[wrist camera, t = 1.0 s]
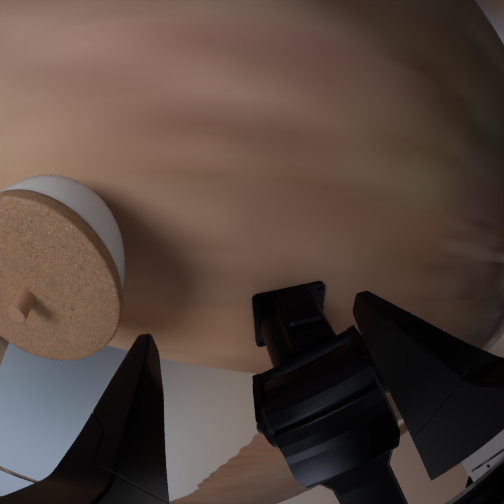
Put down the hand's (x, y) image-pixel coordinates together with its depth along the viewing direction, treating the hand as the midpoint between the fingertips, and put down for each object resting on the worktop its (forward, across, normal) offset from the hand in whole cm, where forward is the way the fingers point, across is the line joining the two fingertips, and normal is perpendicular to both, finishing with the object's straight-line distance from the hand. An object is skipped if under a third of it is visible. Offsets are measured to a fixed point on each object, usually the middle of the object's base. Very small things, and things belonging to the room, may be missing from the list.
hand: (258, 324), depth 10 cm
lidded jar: (+12, +11, 0) cm, 16 cm away
